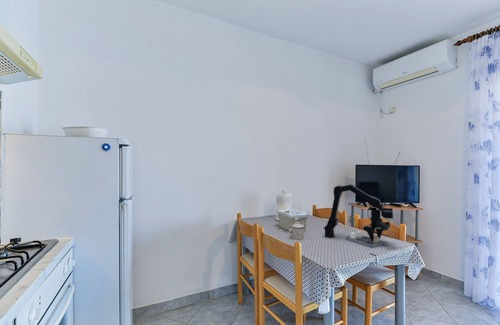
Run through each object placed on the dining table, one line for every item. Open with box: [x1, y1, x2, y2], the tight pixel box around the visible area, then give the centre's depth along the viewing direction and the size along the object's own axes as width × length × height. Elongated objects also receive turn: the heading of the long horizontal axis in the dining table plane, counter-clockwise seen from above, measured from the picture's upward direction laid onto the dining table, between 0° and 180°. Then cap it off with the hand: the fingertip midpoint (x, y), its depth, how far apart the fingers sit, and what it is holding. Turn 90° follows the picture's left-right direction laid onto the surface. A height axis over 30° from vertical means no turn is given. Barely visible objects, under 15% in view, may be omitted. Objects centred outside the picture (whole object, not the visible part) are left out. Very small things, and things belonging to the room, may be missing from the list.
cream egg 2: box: [355, 230, 363, 238], centre depth 176 cm, size 4×4×6 cm
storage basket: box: [277, 208, 308, 233], centre depth 207 cm, size 24×16×15 cm
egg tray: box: [345, 234, 385, 249], centre depth 169 cm, size 14×20×3 cm
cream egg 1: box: [349, 231, 356, 239], centre depth 173 cm, size 4×4×6 cm
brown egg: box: [373, 234, 380, 243], centre depth 165 cm, size 4×4×6 cm
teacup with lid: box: [288, 222, 305, 240], centre depth 181 cm, size 12×9×12 cm
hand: (375, 239), depth 165 cm, fingers open, 7 cm apart
